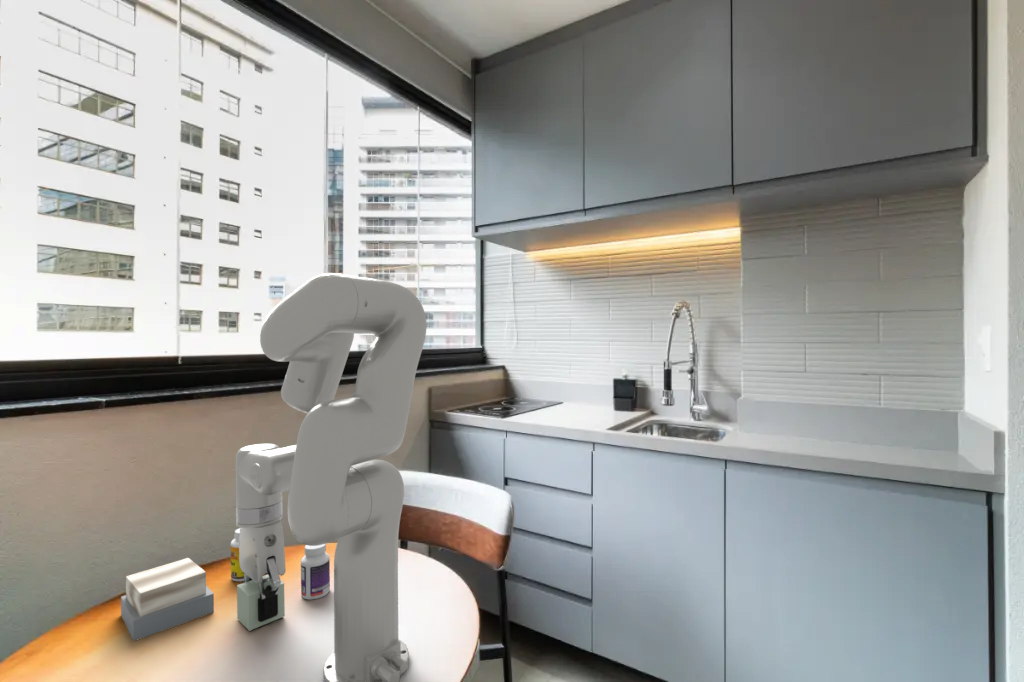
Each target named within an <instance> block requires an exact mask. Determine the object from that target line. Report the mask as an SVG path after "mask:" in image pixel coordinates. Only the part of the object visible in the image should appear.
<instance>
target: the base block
mask: <svg viewBox="0 0 1024 682" xmlns="http://www.w3.org/2000/svg"><path fill="white" fill-rule="evenodd" d="M214 598H215V596H214V592H213V591H212V590H211V589H210V588H209V586H208V585H206V593H205V594H203V595H200V596H197V597H194V598H191V599H189V600H186V601H183V602H180V603H178V604H175V605H172V606H169V607H166V608H164V609H161V610H158V611H155V612H152V613H150V614H147V615H144V616H141V617H140V615H139V614H138V613H137V612H136V610H135V609H134V608H133V606H132V605H131V604H130V603H129V601H128V600H127V599H126V594H124V595H122V596H120V616H121V618H122V620H123V622H125V623H124V625H125V624H126V625H125V627H126V626H127V627H126V629H127V628H128V629H127V632H128V633H129V636H130V637H132V638H131V639H133V640H132V642H133V641H134V640H136V641H138V640H137V639H139V640H141V639H140V638H142V639H144V638H147V637H149V635H150V636H152V635H151V634H153V635H155V634H157V633H156V632H158V633H160V631H161V632H163V631H162V630H164V631H166V630H169V629H171V627H172V628H174V626H175V627H177V626H179V624H180V625H183V624H186V623H188V622H191V621H193V620H192V619H194V620H195V618H197V619H199V618H202V617H205V616H207V615H206V614H208V615H210V614H212V612H213V613H214V612H215V606H214V604H215V602H214V600H215V599H214ZM209 613H210V614H209ZM204 615H205V616H204ZM201 616H202V617H201ZM198 617H199V618H198ZM190 620H191V621H190ZM187 621H188V622H187ZM185 622H186V623H185ZM182 623H183V624H182ZM168 628H169V629H168ZM165 629H166V630H165ZM154 633H155V634H154ZM146 636H147V637H146ZM143 637H144V638H143ZM134 642H135V641H134Z"/></svg>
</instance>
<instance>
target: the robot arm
mask: <svg viewBox="0 0 1024 682" xmlns="http://www.w3.org/2000/svg"><path fill="white" fill-rule="evenodd" d="M355 334H359V335H361V334H365V335H366V334H369V335H371V334H373V335H374V336H375V337H376V338H375V339H374V341H373V342H372V343H371V344H370V346H369V347H368V348H367V350H366V351H365V352H364V354H363V355H362V358H361V360H360V362H359V365H358V368H357V375H356V381H355V385H354V390H353V392H352V394H351V395H350V396H349V397H347V398H341V399H340V398H339V399H335V397H336V394H337V390H338V388H339V385H340V381H341V378H342V376H343V372H344V369H345V368H346V367H345V366H346V363H347V360H348V357H349V355H350V351H351V347H352V345H353V341H354V338H355ZM426 336H427V317H426V313H425V309H424V307H423V305H422V303H421V300H420V299H419V298H418V297H417V295H416V294H414V293H413V292H412V291H411V290H410V289H408V288H407V287H405V286H403V285H401V284H397V283H394V282H390V281H387V280H383V279H379V278H378V279H377V278H370V277H362V276H356V275H351V274H344V273H336V272H335V273H334V272H326V273H322V274H321V273H320V274H318V275H316V276H313V277H311V278H309V279H308V280H307V281H305V283H303V284H302V285H301V286H299V287H298V288H296V289H295V290H294V291H293V292H292V293H290V294H289V295H286V297H285V298H283V299H282V301H280V302H279V303H278V304H277V305H275V306H274V307H273V309H271V310H270V312H269V313H268V315H266V318H265V320H264V322H263V323H262V326H261V329H260V336H259V338H260V339H259V342H260V346H261V347H260V348H261V349H262V352H263V353H264V355H265V356H266V357H267V358H268V359H270V360H271V361H275V362H282V363H284V362H285V363H286V362H289V364H288V367H287V371H286V373H285V376H284V379H283V383H282V385H281V389H280V396H281V399H282V400H283V402H284V403H286V405H288V406H289V407H291V408H293V409H294V410H296V411H299V412H302V413H304V414H306V415H305V417H304V419H303V420H302V422H301V425H300V426H299V430H298V433H297V439H296V444H294V445H288V446H284V447H280V446H279V445H278V444H274V443H256V444H251V445H246V446H244V447H243V446H242V447H241V448H239V449H238V450H237V452H236V454H235V519H236V520H235V525H236V527H238V528H240V539H239V561H240V568H241V570H242V571H243V573H244V581H243V583H245V582H248V581H251V580H254V581H255V582H257V583H258V586H259V593H260V598H259V599H258V621H259V622H262V621H265V620H267V619H270V618H272V617H275V616H277V614H278V588H279V585H280V584H281V581H282V580H281V577H282V576H284V575H285V574H286V555H285V553H286V552H285V551H286V550H285V541H284V531H283V526H282V521H281V520H282V519H283V492H288V496H287V498H288V499H287V506H286V507H287V522H288V525H289V528H290V531H291V533H292V534H293V536H294V538H295V539H296V540H297V541H298V542H299V543H301V544H303V545H305V546H306V545H309V546H318V545H323V544H326V545H327V544H328V543H332V542H335V541H337V542H336V546H335V550H334V551H335V552H334V556H333V557H334V559H333V621H334V622H333V625H334V626H333V633H334V634H333V637H334V641H333V644H334V645H333V650H334V651H333V652H332V653H331V654H330V655H329V656H328V657H327V659H326V661H325V663H324V664H323V673H322V674H323V681H324V682H400V678H401V676H402V675H403V674H404V673H405V672H406V671H407V670H408V668H409V661H410V658H409V657H410V655H409V654H410V652H409V648H408V647H407V645H406V644H405V642H403V641H402V640H401V639H400V638H399V532H400V522H401V516H402V515H401V514H402V510H403V505H404V497H405V485H404V480H403V476H402V475H401V472H400V471H399V469H398V468H397V467H396V466H395V465H394V464H393V463H391V462H389V461H387V460H385V459H384V460H383V459H379V458H383V457H386V456H389V455H391V454H392V453H394V452H396V451H397V450H398V449H399V448H400V447H401V446H402V444H403V441H404V438H405V434H406V432H407V431H406V430H407V425H408V420H409V414H410V409H411V402H412V398H413V391H414V386H415V378H416V373H417V369H418V366H419V363H420V358H421V355H422V351H423V348H424V345H425V340H426ZM265 575H269V578H266V579H262V577H263V576H265ZM268 581H270V583H269V585H268V586H267V587H266V588H265V589H264V583H266V582H268Z"/></svg>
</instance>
